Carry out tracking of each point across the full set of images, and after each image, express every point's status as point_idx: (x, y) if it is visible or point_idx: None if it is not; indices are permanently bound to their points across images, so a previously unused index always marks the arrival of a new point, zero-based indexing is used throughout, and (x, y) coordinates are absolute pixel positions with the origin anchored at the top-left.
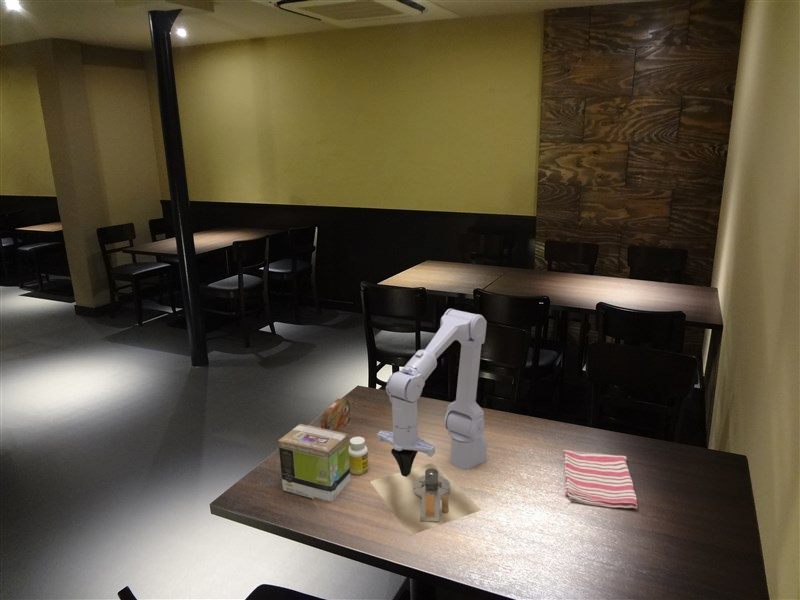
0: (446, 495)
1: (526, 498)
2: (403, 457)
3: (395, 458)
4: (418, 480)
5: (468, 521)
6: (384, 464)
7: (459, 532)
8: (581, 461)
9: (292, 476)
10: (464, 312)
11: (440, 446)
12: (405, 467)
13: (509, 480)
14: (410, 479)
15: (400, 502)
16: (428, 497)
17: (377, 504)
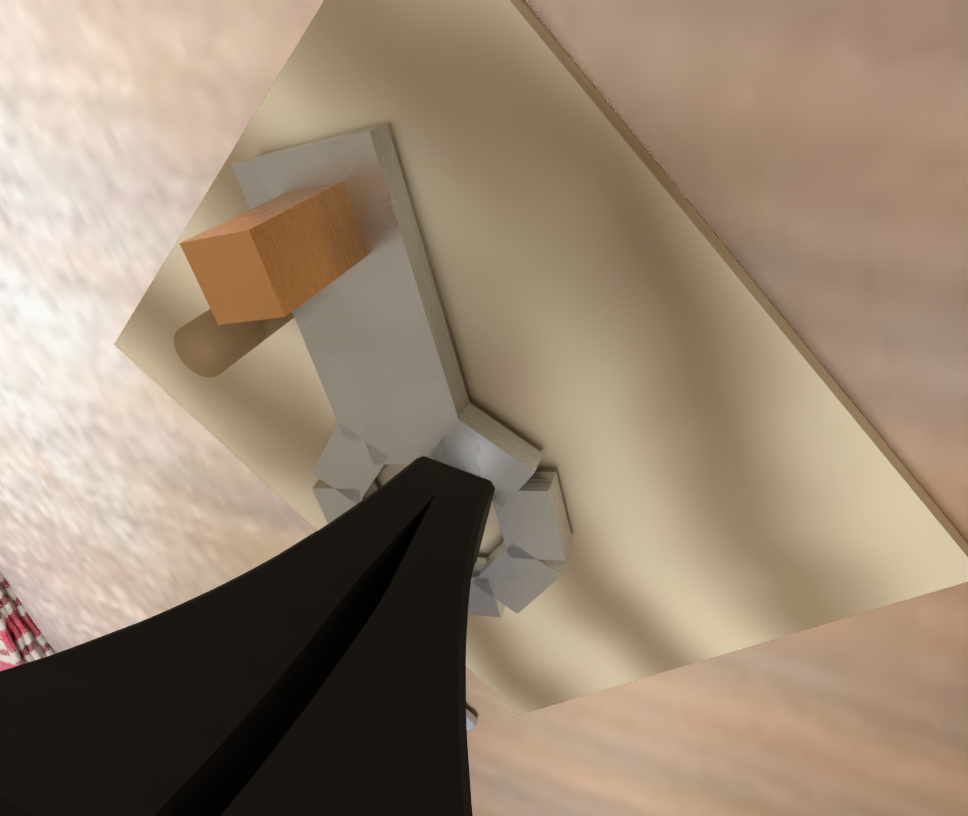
0: (198, 367)
1: (40, 467)
2: (109, 751)
3: (450, 758)
4: (535, 564)
5: (153, 247)
6: (860, 738)
7: (142, 116)
8: (9, 657)
9: None
10: None
11: (535, 809)
12: (322, 552)
13: (156, 577)
14: (617, 588)
15: (629, 338)
16: (241, 270)
17: (862, 313)
